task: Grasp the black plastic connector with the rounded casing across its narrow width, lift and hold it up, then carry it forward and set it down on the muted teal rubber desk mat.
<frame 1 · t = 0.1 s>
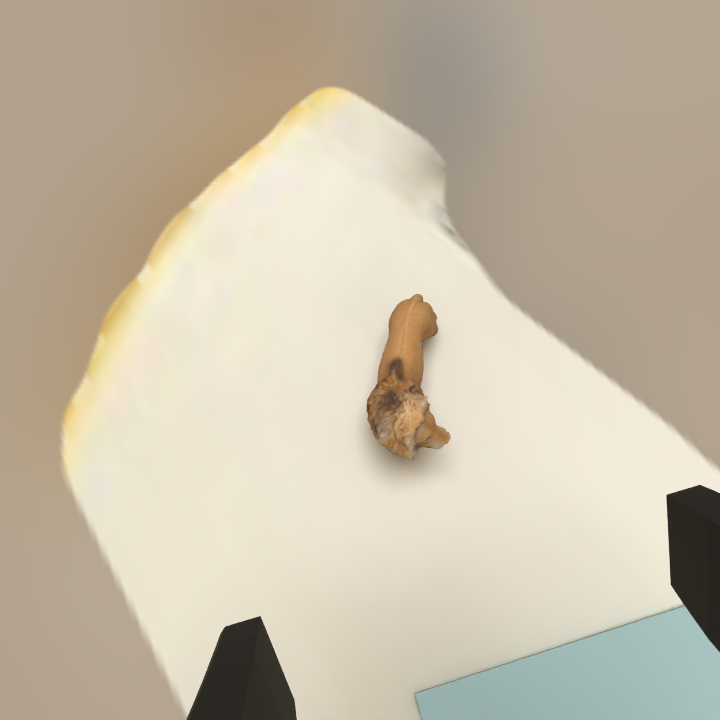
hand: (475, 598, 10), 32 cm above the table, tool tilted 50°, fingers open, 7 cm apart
lion figurine: (411, 394, 47), on the table
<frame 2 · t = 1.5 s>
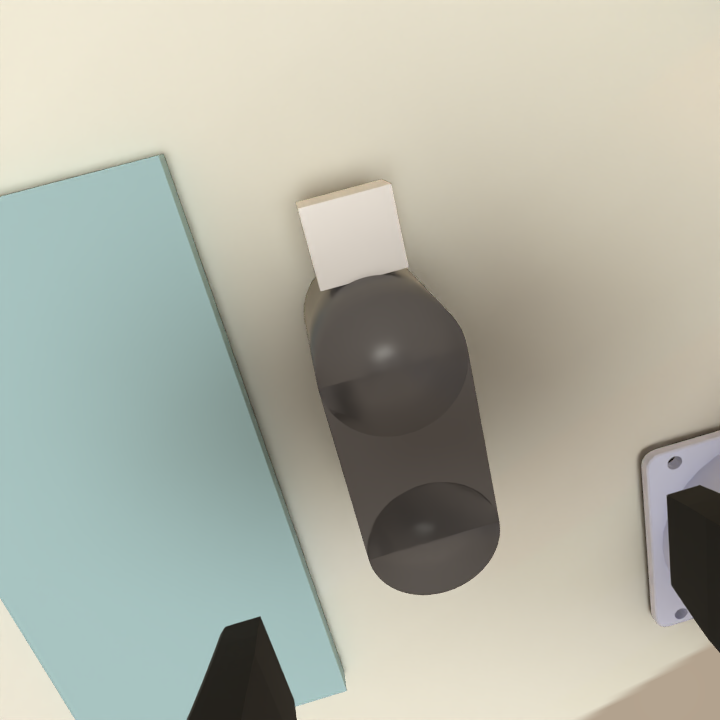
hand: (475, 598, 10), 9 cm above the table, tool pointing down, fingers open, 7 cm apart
connector: (382, 385, 19), on the table
desk mat: (131, 502, 19), on the table
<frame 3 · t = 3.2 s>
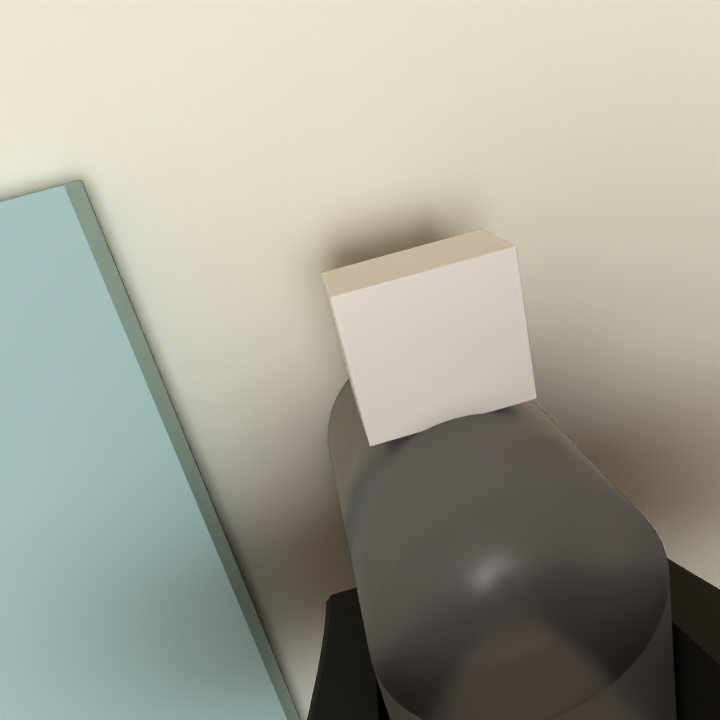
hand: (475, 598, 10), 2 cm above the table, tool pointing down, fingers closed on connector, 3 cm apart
connector: (449, 539, 12), on the table, touching gripper
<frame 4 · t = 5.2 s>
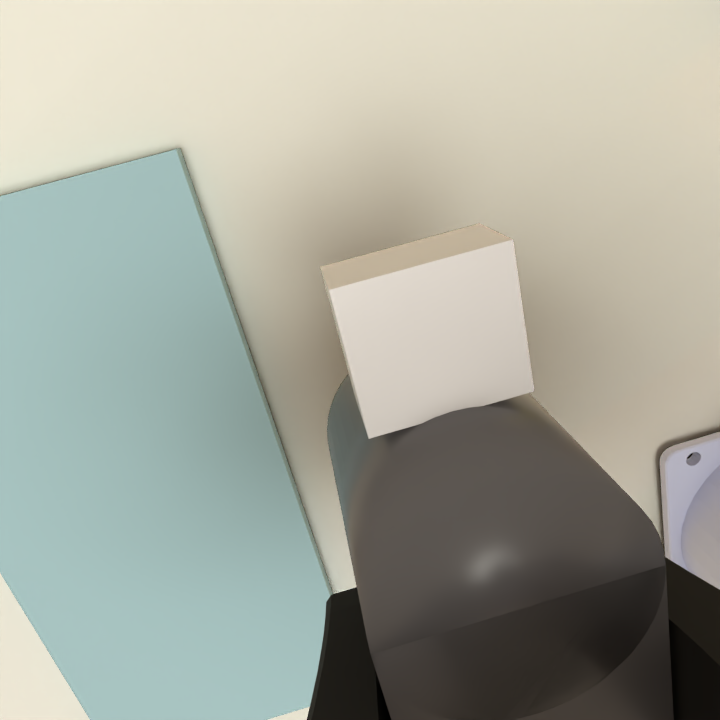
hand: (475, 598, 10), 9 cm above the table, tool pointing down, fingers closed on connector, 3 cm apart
connector: (448, 534, 12), point 7 cm above the table, touching gripper
desk mat: (146, 500, 19), on the table
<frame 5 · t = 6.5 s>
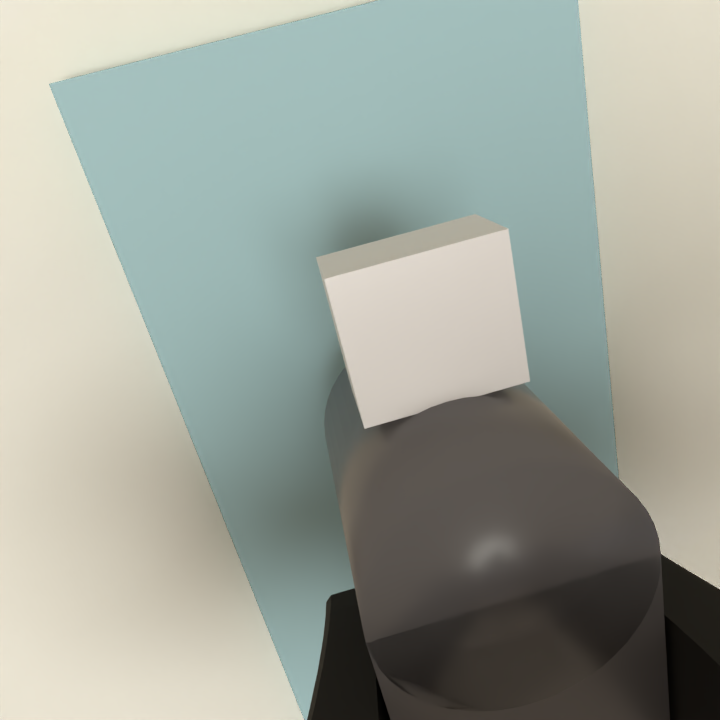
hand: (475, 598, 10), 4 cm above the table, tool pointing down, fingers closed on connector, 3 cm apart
connector: (445, 527, 12), point 3 cm above the table, touching gripper
desk mat: (417, 465, 15), on the table
when the fingers open (4 cm above the table, at t = 7.4 s): connector drops 1 cm, resting on desk mat.
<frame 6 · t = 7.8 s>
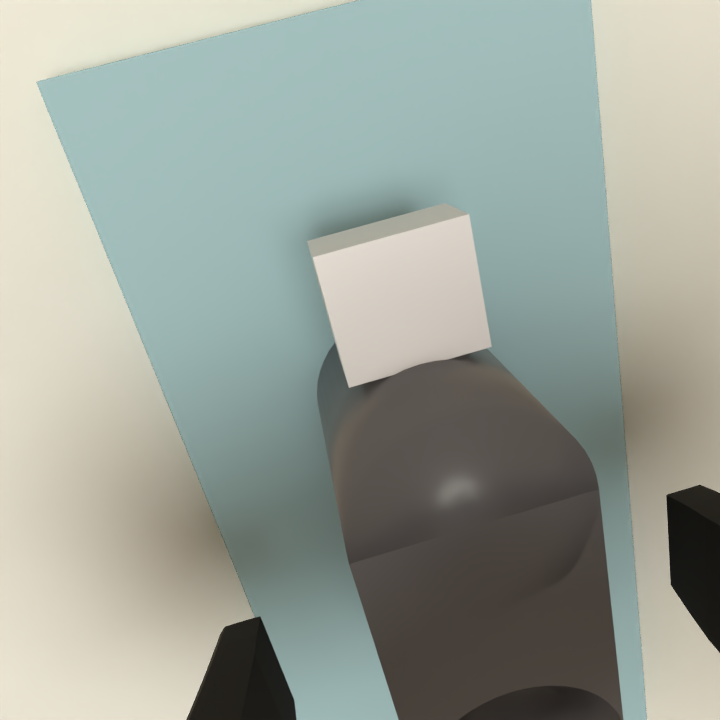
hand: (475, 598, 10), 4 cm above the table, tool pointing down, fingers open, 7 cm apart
connector: (428, 490, 13), point 1 cm above the table, touching desk mat
desk mat: (421, 476, 14), on the table
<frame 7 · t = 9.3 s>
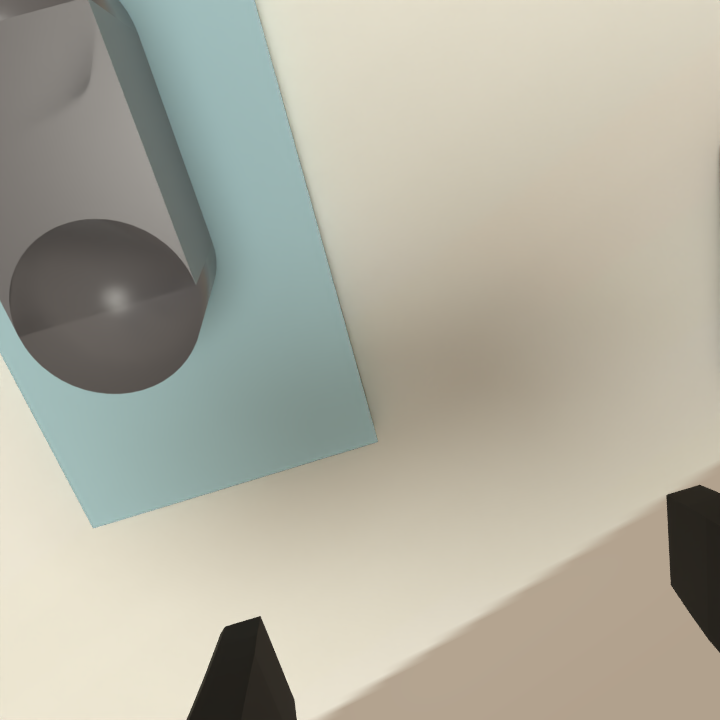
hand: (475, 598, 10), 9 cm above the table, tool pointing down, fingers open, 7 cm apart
connector: (108, 164, 15), point 1 cm above the table, touching desk mat
desk mat: (118, 168, 16), on the table
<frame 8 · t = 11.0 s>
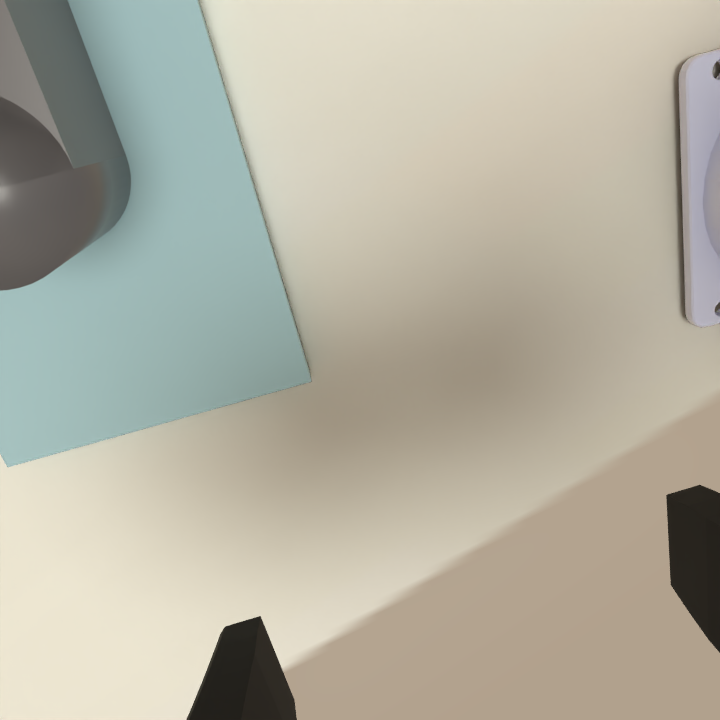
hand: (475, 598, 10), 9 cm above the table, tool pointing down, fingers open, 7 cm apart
connector: (8, 63, 14), point 1 cm above the table, touching desk mat
desk mat: (25, 73, 15), on the table
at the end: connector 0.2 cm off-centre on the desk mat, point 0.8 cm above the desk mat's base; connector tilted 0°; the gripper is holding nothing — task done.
